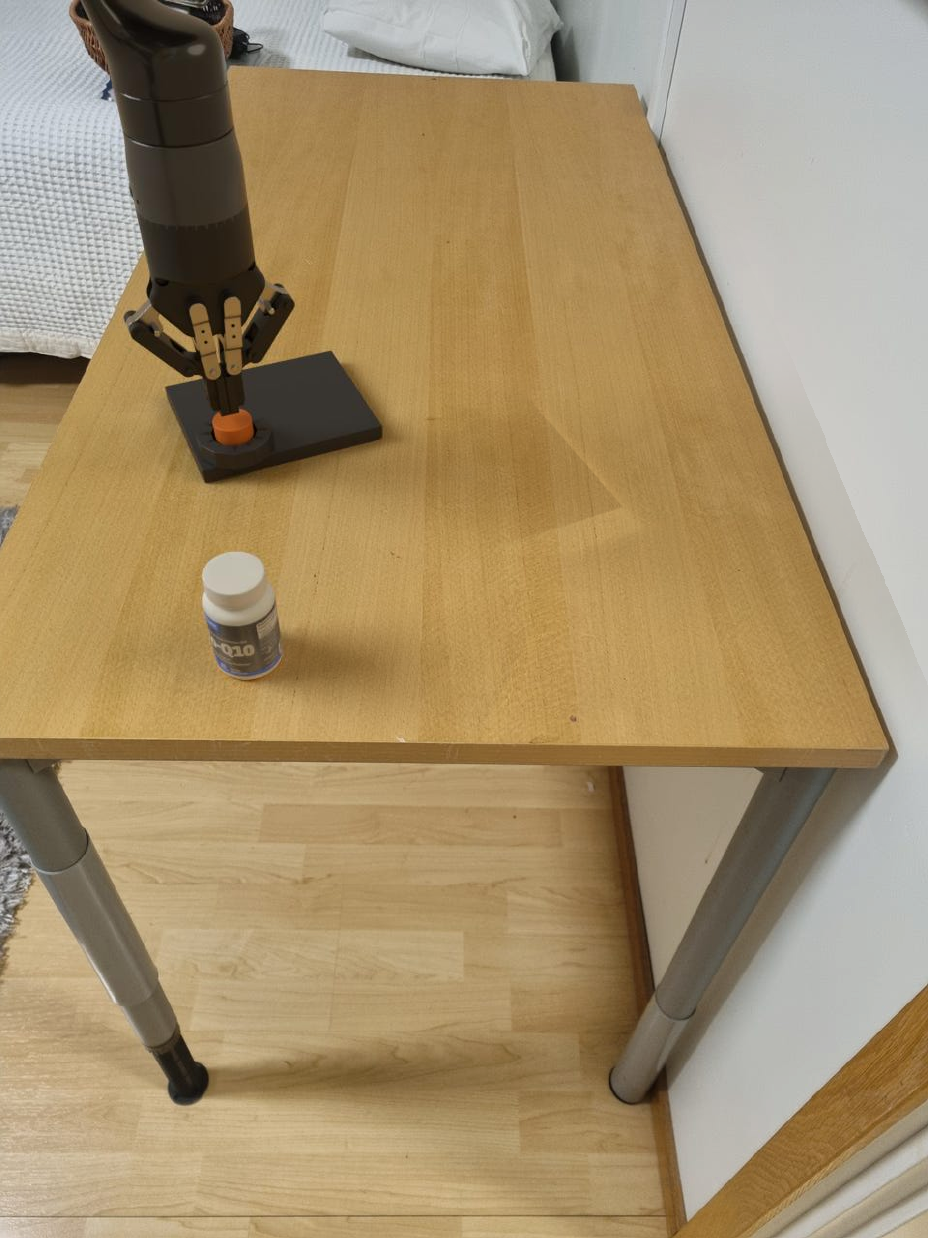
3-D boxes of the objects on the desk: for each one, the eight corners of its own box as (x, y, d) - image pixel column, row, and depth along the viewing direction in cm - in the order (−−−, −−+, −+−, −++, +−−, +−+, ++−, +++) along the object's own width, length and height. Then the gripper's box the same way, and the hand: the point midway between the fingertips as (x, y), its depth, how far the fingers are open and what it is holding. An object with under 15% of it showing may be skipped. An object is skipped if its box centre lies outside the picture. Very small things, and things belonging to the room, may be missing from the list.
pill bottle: (202, 669, 65) (180, 584, 58) (238, 622, 68) (220, 538, 61) (262, 690, 64) (246, 607, 57) (296, 642, 67) (284, 558, 60)
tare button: (221, 450, 77) (218, 434, 76) (210, 428, 79) (207, 413, 77) (258, 440, 78) (256, 425, 77) (247, 419, 80) (245, 404, 78)
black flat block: (208, 491, 77) (202, 462, 75) (167, 399, 86) (160, 370, 83) (387, 445, 82) (386, 417, 80) (332, 362, 91) (330, 334, 88)
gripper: (102, 236, 59) (157, 455, 72) (301, 204, 63) (320, 416, 76) (80, 188, 64) (135, 402, 76) (267, 161, 68) (290, 368, 81)
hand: (227, 409), depth 76 cm, fingers closed
